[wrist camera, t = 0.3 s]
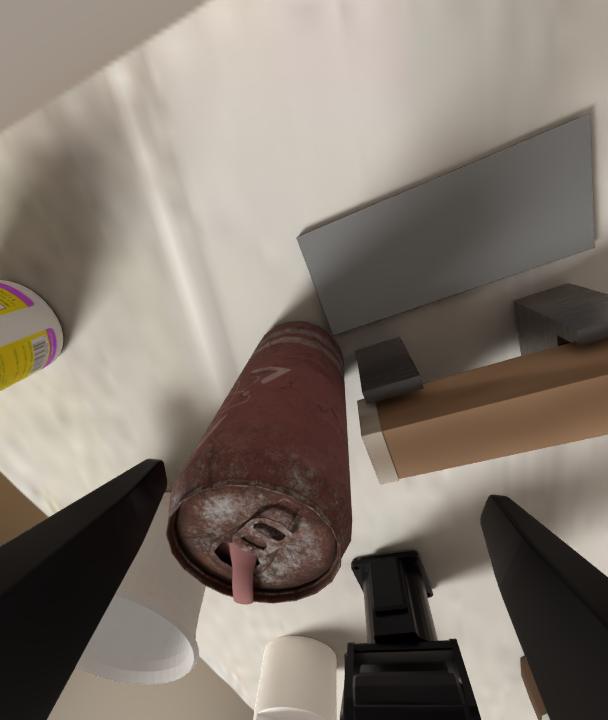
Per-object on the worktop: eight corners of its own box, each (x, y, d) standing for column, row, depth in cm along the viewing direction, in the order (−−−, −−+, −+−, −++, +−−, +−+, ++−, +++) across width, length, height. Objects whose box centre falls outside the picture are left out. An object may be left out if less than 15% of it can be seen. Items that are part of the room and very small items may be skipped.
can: (260, 399, 24) (174, 608, 11) (254, 318, 21) (132, 471, 8) (340, 402, 23) (347, 626, 11) (344, 320, 21) (360, 486, 8)
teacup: (186, 424, 25) (103, 540, 16) (259, 544, 31) (227, 681, 22) (72, 456, 28) (-54, 570, 19) (157, 561, 33) (92, 689, 24)
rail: (639, 378, 16) (707, 414, 13) (373, 443, 20) (380, 484, 17) (640, 321, 15) (715, 347, 12) (357, 400, 18) (361, 436, 15)
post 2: (574, 369, 21) (651, 418, 16) (525, 382, 21) (583, 433, 16) (568, 283, 18) (655, 308, 13) (513, 300, 19) (576, 330, 14)
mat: (586, 246, 18) (594, 247, 17) (333, 332, 21) (333, 335, 20) (580, 116, 15) (589, 113, 15) (297, 236, 19) (296, 237, 18)
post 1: (420, 410, 23) (444, 463, 18) (380, 420, 24) (392, 475, 19) (399, 337, 21) (420, 375, 16) (355, 351, 21) (362, 391, 16)
